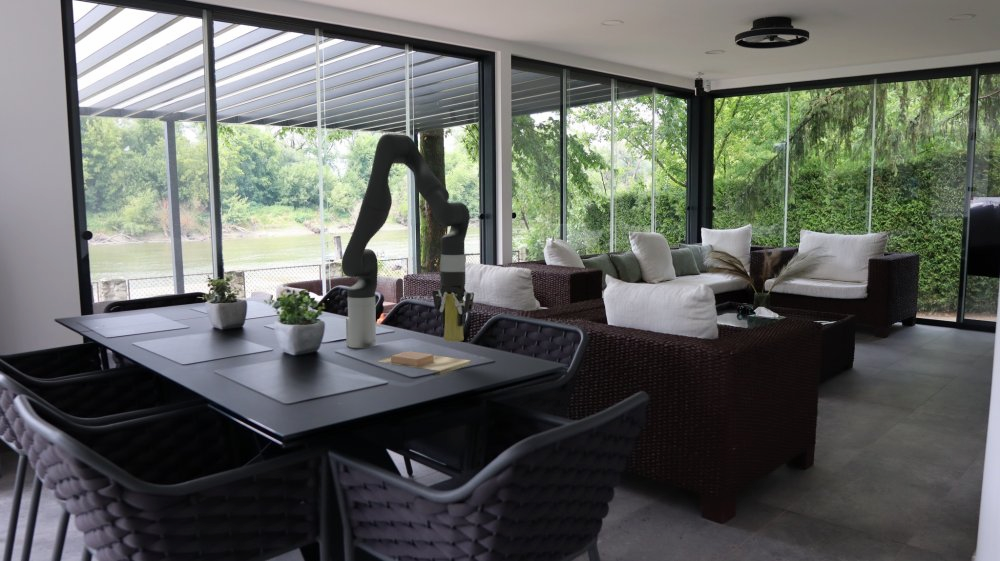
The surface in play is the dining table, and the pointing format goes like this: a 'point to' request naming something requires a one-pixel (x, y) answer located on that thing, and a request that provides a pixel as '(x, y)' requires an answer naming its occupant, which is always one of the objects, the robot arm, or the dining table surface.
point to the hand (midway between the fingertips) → (453, 324)
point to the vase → (452, 320)
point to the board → (437, 364)
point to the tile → (412, 358)
